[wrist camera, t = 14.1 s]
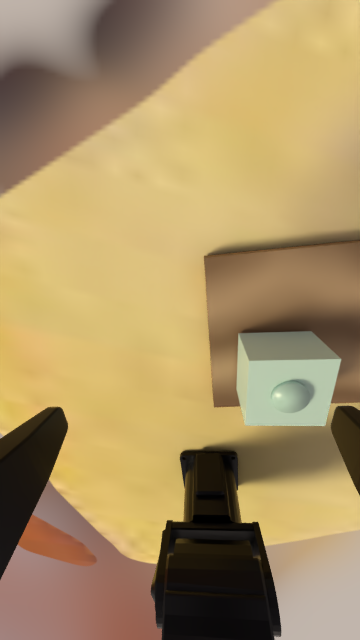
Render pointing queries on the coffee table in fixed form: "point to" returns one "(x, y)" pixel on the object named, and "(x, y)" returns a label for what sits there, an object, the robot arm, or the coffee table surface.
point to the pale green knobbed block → (285, 378)
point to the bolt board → (285, 307)
